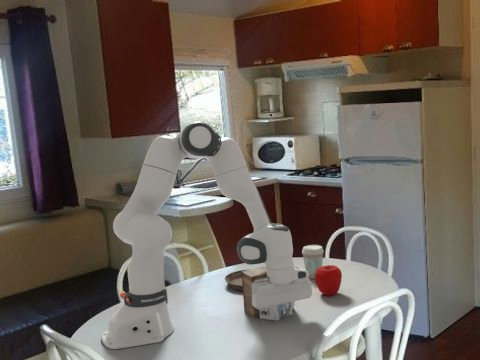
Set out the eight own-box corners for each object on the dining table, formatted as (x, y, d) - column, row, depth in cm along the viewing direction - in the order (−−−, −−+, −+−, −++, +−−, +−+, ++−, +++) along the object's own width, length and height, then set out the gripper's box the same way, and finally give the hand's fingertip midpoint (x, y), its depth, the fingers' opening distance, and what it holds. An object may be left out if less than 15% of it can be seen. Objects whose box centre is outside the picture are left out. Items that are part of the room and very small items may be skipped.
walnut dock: (253, 317, 190) (251, 276, 188) (244, 311, 197) (241, 271, 195) (293, 308, 196) (291, 268, 194) (283, 301, 203) (280, 263, 201)
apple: (330, 287, 214) (329, 259, 213) (348, 293, 206) (347, 264, 205) (310, 294, 209) (308, 264, 208) (327, 300, 201) (326, 270, 199)
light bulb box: (278, 321, 186) (276, 289, 184) (259, 319, 189) (256, 287, 187) (290, 309, 195) (288, 278, 194) (271, 307, 198) (269, 277, 197)
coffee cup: (299, 275, 231) (298, 246, 229) (319, 272, 233) (317, 243, 232) (308, 281, 223) (306, 251, 221) (328, 278, 225) (327, 248, 224)
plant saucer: (279, 275, 234) (278, 267, 233) (277, 292, 213) (276, 284, 213) (228, 277, 236) (228, 269, 236) (221, 294, 216) (221, 286, 215)
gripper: (255, 283, 177) (258, 326, 179) (313, 271, 185) (315, 312, 186) (246, 278, 183) (250, 320, 184) (303, 266, 190) (306, 307, 192)
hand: (283, 316), depth 185 cm, fingers open, 2 cm apart
